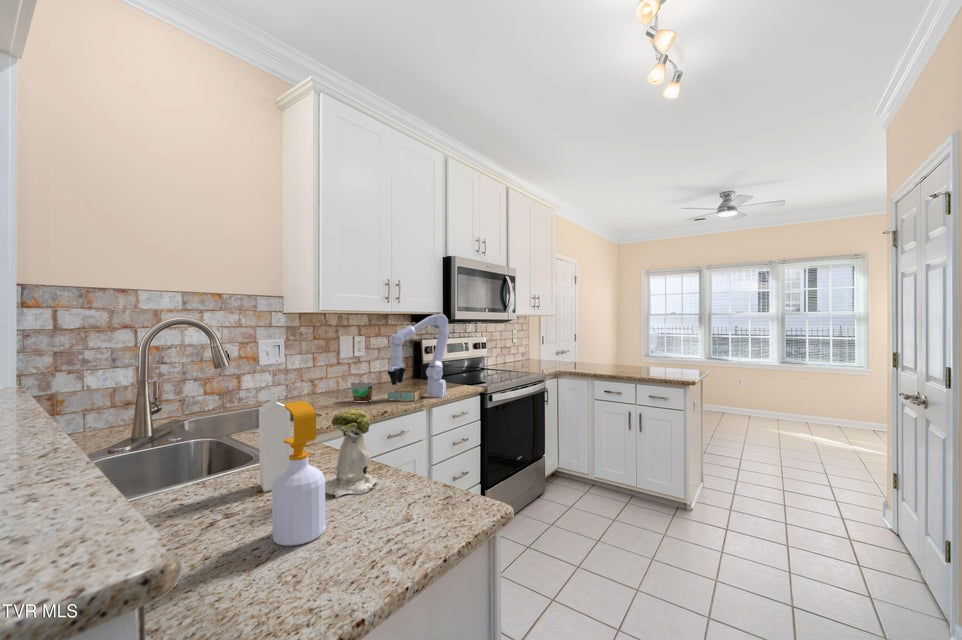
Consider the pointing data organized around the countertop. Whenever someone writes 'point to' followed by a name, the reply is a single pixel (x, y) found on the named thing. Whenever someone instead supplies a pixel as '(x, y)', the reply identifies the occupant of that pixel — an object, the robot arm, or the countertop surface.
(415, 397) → the carton
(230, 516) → the countertop surface
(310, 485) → the soap bottle
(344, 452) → the tree figurine
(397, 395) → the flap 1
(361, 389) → the food container
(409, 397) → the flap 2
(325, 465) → the countertop surface
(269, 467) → the white gable-top box
